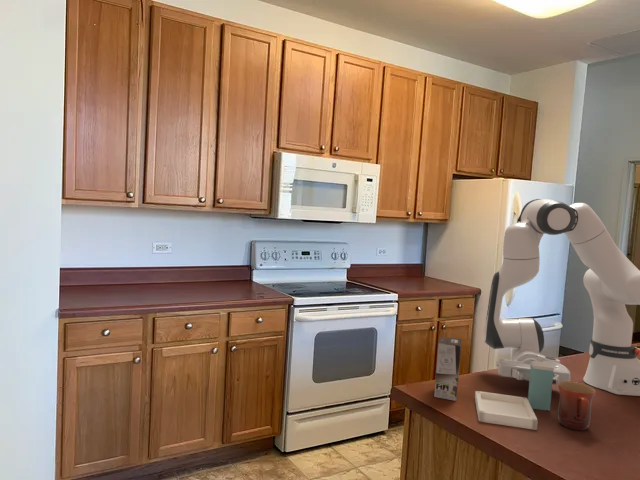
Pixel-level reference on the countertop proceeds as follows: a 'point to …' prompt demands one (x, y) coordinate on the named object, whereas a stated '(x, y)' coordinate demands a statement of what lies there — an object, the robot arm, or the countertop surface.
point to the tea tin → (540, 385)
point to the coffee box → (447, 368)
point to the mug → (575, 404)
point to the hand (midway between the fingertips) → (537, 379)
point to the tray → (505, 410)
